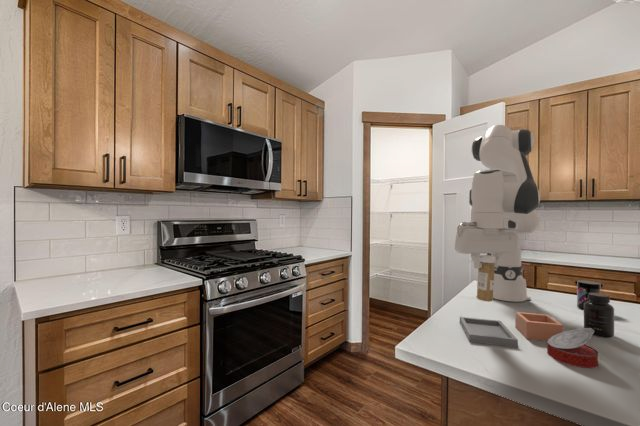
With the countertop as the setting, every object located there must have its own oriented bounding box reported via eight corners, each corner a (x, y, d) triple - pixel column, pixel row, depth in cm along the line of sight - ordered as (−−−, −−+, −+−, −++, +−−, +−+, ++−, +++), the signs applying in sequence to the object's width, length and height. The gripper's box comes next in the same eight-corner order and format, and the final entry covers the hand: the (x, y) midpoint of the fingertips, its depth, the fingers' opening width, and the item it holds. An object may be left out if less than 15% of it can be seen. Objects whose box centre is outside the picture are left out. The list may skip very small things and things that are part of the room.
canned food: (586, 388, 70) (581, 356, 67) (540, 363, 79) (534, 334, 76) (612, 359, 73) (607, 328, 70) (565, 339, 82) (559, 310, 79)
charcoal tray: (459, 322, 98) (459, 316, 98) (500, 327, 95) (500, 320, 95) (469, 341, 84) (469, 334, 84) (517, 347, 80) (517, 339, 80)
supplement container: (579, 305, 119) (579, 279, 119) (602, 309, 114) (602, 282, 114) (574, 308, 115) (574, 281, 115) (597, 313, 110) (598, 285, 110)
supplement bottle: (584, 327, 95) (584, 290, 95) (614, 333, 90) (614, 294, 90) (582, 333, 90) (583, 294, 90) (614, 340, 86) (614, 298, 86)
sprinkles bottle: (496, 302, 87) (499, 257, 87) (481, 301, 87) (484, 256, 87) (487, 297, 92) (489, 254, 91) (472, 296, 92) (475, 253, 91)
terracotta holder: (515, 327, 94) (515, 311, 94) (548, 330, 92) (548, 314, 92) (526, 338, 86) (526, 321, 86) (563, 343, 83) (563, 325, 83)
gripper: (465, 222, 84) (464, 271, 83) (522, 223, 89) (521, 269, 89) (450, 221, 90) (449, 267, 90) (504, 222, 95) (503, 265, 95)
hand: (485, 268), depth 89 cm, fingers closed on sprinkles bottle, 4 cm apart
